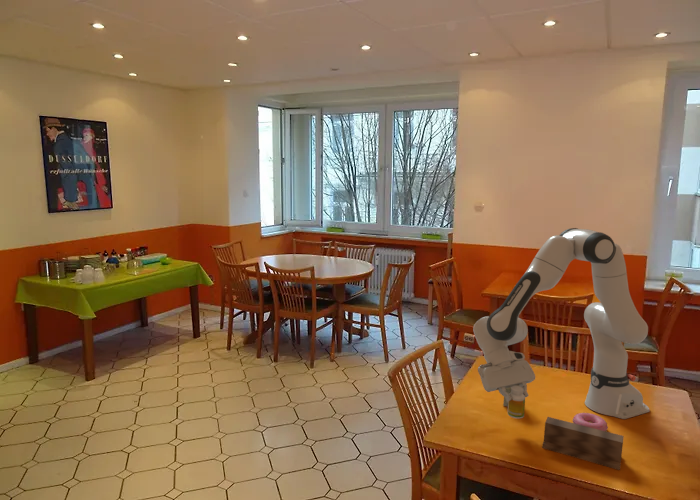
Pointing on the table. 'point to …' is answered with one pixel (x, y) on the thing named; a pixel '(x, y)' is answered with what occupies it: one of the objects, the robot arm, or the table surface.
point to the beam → (583, 442)
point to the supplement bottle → (516, 403)
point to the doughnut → (590, 421)
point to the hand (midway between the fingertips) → (518, 398)
